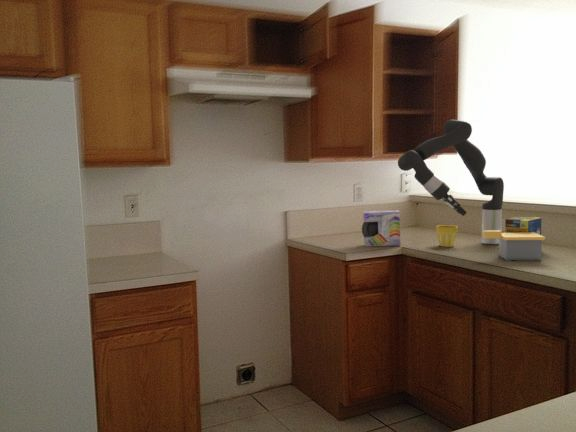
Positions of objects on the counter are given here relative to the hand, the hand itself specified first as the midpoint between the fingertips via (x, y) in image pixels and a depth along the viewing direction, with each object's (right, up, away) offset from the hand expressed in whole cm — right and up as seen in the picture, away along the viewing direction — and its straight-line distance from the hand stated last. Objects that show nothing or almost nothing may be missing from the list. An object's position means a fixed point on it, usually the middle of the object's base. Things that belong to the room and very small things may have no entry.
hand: (463, 213), depth 237 cm
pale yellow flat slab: (+20, -10, -1) cm, 23 cm away
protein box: (+32, -18, +14) cm, 39 cm away
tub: (+24, -19, -1) cm, 31 cm away
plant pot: (+3, -16, +36) cm, 39 cm away
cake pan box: (-28, -16, +42) cm, 53 cm away
